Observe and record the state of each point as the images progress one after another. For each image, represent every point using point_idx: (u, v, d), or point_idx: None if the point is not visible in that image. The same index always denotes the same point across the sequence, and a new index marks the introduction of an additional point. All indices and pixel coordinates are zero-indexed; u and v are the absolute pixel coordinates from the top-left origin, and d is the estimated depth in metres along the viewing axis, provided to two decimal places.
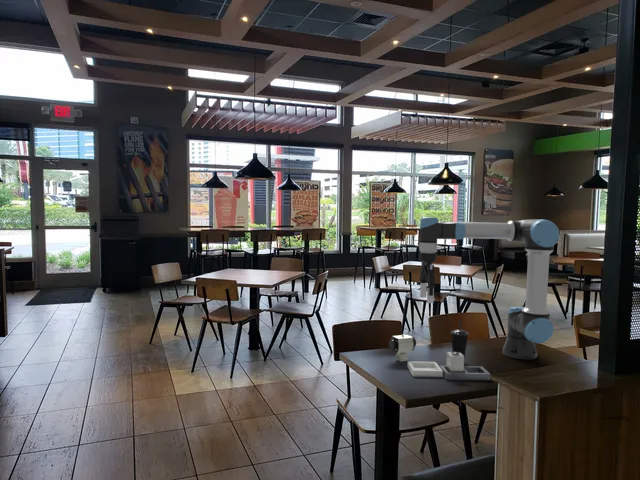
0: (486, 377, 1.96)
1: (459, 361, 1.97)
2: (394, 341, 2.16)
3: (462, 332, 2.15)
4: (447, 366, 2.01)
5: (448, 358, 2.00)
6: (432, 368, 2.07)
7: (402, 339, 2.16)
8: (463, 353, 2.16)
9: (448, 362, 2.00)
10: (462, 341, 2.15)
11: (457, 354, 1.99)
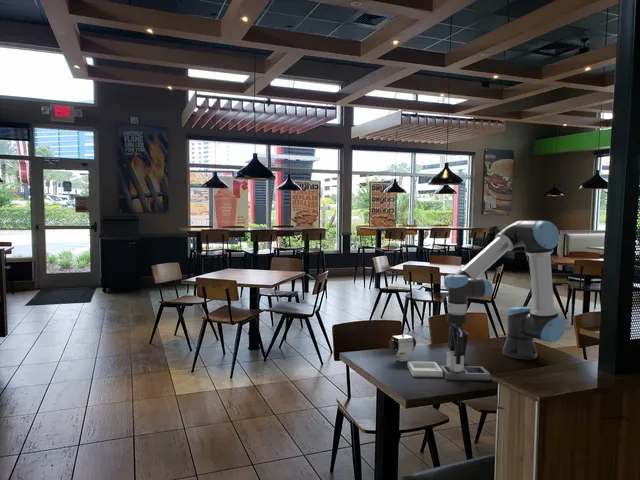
0: (486, 377, 1.96)
1: None
2: (394, 341, 2.16)
3: None
4: (447, 366, 2.01)
5: (448, 358, 2.00)
6: (432, 368, 2.07)
7: (402, 339, 2.16)
8: (463, 353, 2.16)
9: (448, 362, 2.00)
10: None
11: None
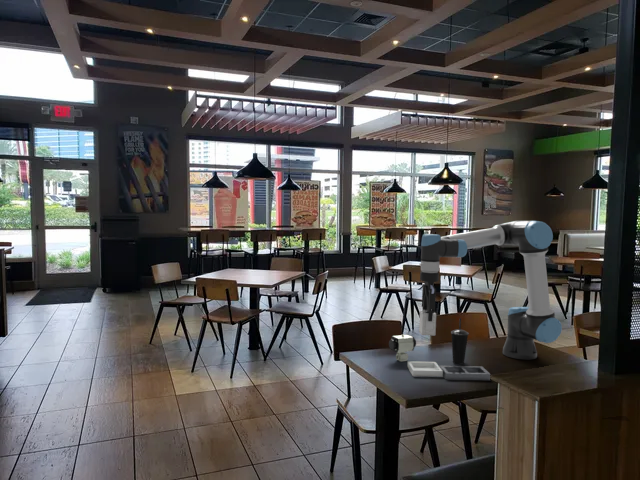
0: (486, 377, 1.96)
1: None
2: (394, 341, 2.16)
3: (462, 332, 2.15)
4: (420, 324, 2.04)
5: (421, 316, 2.03)
6: (432, 368, 2.07)
7: (402, 339, 2.16)
8: (463, 353, 2.16)
9: (421, 320, 2.03)
10: (462, 341, 2.15)
11: None
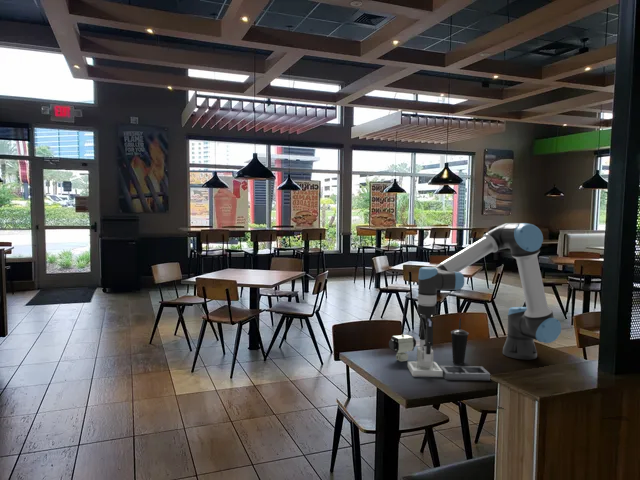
0: (486, 377, 1.96)
1: None
2: (394, 341, 2.16)
3: (462, 332, 2.15)
4: (417, 361, 2.05)
5: (418, 353, 2.04)
6: None
7: (402, 339, 2.16)
8: (463, 353, 2.16)
9: (418, 357, 2.04)
10: (462, 341, 2.15)
11: None
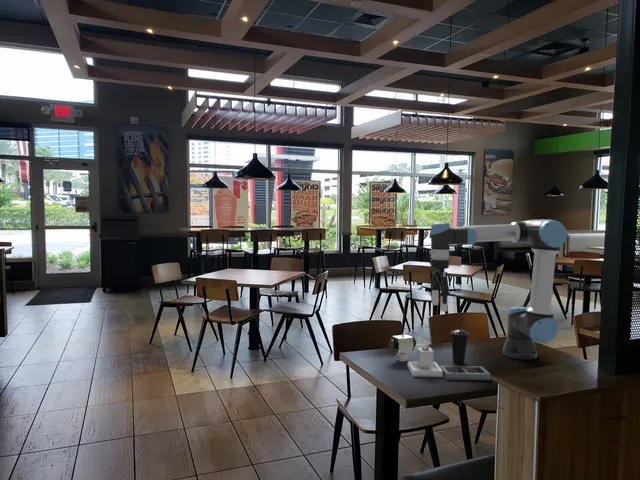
0: (486, 377, 1.96)
1: (428, 356, 2.01)
2: (394, 341, 2.16)
3: (462, 332, 2.15)
4: (417, 361, 2.05)
5: (418, 353, 2.04)
6: None
7: (402, 339, 2.16)
8: (463, 353, 2.16)
9: (418, 357, 2.04)
10: (462, 341, 2.15)
11: (427, 349, 2.02)
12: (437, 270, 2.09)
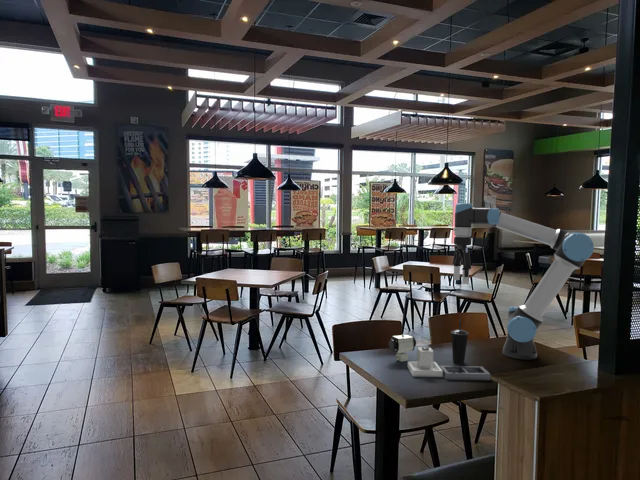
0: (486, 377, 1.96)
1: (428, 356, 2.01)
2: (394, 341, 2.16)
3: (462, 332, 2.15)
4: (417, 361, 2.05)
5: (418, 353, 2.04)
6: None
7: (402, 339, 2.16)
8: (463, 353, 2.16)
9: (418, 357, 2.04)
10: (462, 341, 2.15)
11: (427, 349, 2.02)
12: (460, 247, 2.26)
